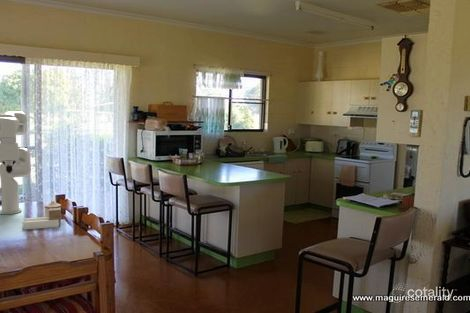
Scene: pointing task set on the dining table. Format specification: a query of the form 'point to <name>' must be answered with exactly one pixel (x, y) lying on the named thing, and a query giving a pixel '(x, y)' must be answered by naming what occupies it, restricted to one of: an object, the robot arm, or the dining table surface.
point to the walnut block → (55, 214)
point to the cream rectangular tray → (39, 223)
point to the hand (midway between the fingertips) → (9, 172)
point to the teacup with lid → (51, 205)
